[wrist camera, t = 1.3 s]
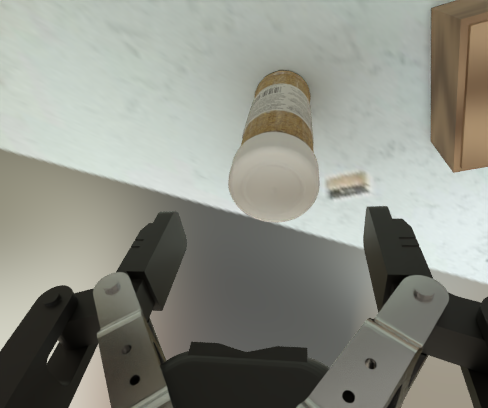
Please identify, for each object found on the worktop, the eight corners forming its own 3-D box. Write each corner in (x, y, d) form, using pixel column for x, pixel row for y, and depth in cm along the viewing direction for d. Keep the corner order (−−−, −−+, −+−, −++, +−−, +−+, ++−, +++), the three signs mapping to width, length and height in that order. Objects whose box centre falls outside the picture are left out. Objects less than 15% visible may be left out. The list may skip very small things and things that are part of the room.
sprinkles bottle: (263, 129, 29) (242, 231, 18) (248, 77, 26) (213, 160, 15) (316, 116, 27) (327, 219, 17) (305, 60, 25) (310, 139, 14)
